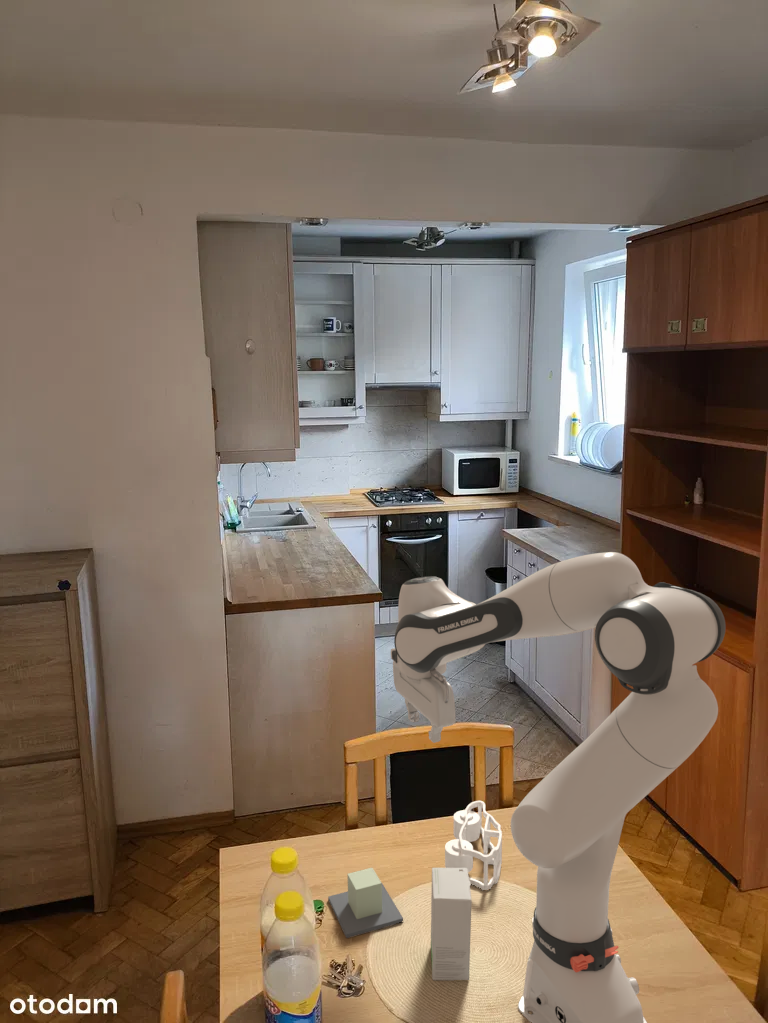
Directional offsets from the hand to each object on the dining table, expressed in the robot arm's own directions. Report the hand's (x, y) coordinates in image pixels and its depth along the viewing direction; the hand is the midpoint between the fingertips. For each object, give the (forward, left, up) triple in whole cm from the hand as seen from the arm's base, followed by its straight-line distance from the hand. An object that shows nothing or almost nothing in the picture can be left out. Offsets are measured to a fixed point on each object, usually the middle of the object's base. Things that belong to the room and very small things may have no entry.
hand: (424, 730), depth 145 cm
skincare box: (-20, +5, -33) cm, 39 cm away
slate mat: (-3, +14, -33) cm, 35 cm away
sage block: (-3, +14, -32) cm, 35 cm away
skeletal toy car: (+4, -13, -33) cm, 36 cm away
